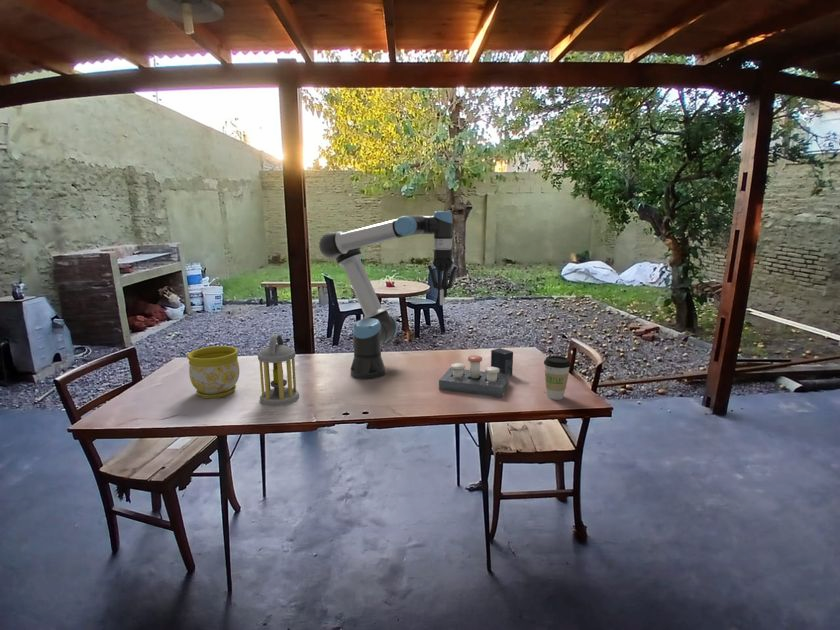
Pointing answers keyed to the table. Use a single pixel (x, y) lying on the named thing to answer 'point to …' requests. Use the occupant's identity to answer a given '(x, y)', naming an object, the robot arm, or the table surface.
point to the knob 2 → (492, 373)
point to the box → (502, 360)
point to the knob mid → (475, 366)
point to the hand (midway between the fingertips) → (442, 304)
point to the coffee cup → (556, 376)
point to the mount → (474, 384)
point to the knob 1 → (458, 369)
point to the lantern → (277, 373)
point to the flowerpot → (214, 370)
